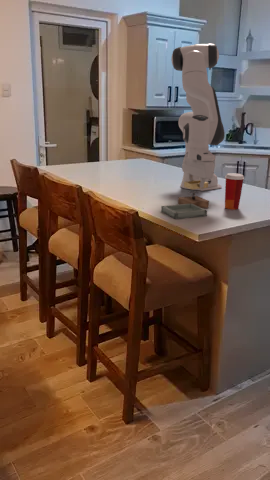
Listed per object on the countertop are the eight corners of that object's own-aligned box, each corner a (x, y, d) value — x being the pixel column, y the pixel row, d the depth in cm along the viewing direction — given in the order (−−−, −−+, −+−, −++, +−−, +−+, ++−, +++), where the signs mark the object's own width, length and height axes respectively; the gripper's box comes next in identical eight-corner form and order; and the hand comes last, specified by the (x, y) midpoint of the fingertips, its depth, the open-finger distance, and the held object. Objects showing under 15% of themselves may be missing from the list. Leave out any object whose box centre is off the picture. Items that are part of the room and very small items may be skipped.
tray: (191, 208, 190) (191, 203, 189) (206, 215, 179) (207, 210, 178) (161, 211, 184) (161, 205, 183) (175, 219, 173) (175, 213, 173)
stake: (196, 198, 196) (196, 190, 195) (197, 199, 195) (198, 191, 193) (187, 199, 194) (188, 191, 193) (189, 199, 193) (189, 192, 192)
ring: (191, 189, 188) (191, 184, 188) (184, 186, 194) (184, 181, 193) (210, 187, 192) (210, 182, 191) (202, 184, 198) (202, 179, 197)
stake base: (196, 202, 202) (197, 196, 201) (208, 207, 193) (209, 200, 192) (177, 203, 198) (178, 197, 197) (189, 209, 189) (189, 202, 188)
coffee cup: (238, 205, 197) (241, 173, 193) (243, 210, 190) (246, 176, 185) (220, 205, 197) (223, 172, 192) (224, 210, 189) (227, 176, 184)
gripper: (179, 151, 196) (178, 181, 200) (204, 158, 178) (202, 190, 183) (191, 150, 198) (189, 180, 203) (217, 157, 181) (215, 189, 185)
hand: (196, 185), depth 193 cm, fingers closed on ring, 6 cm apart
